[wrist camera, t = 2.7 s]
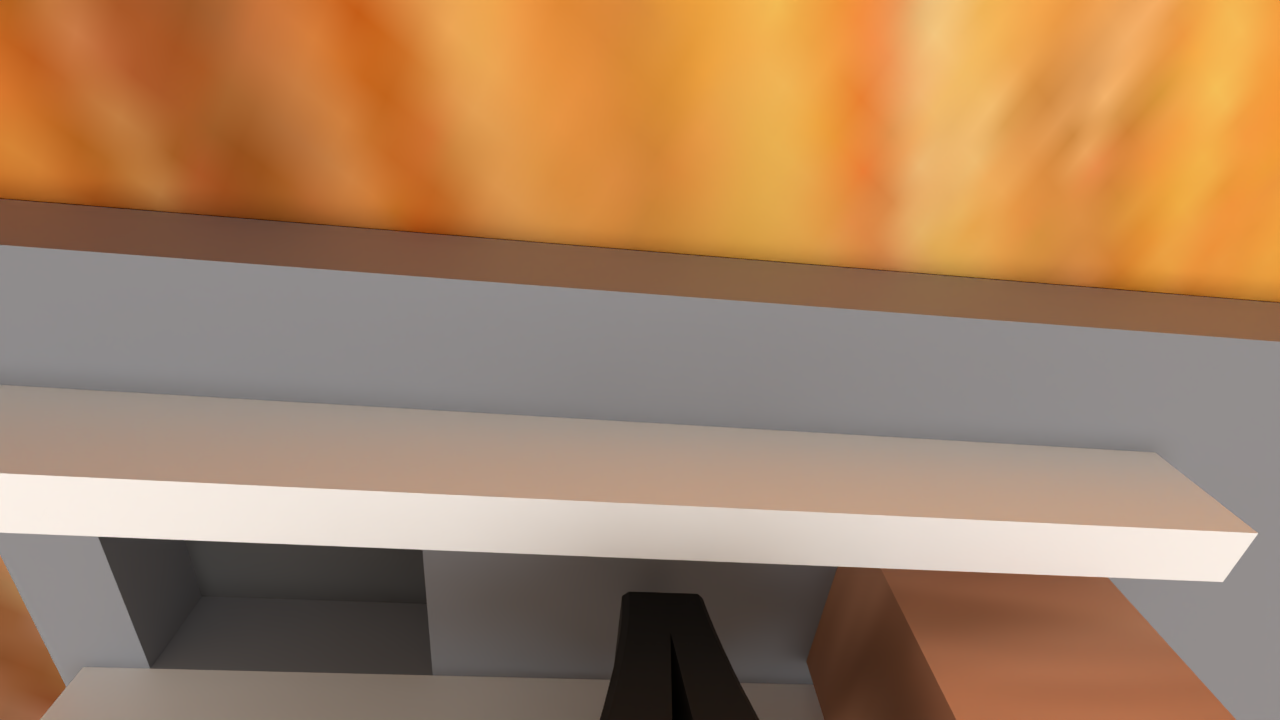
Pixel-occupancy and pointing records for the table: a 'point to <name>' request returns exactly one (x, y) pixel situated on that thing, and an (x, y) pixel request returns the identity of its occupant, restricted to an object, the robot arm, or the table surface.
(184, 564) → the trap deck
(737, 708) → the robot arm
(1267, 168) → the table surface
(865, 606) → the block
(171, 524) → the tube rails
